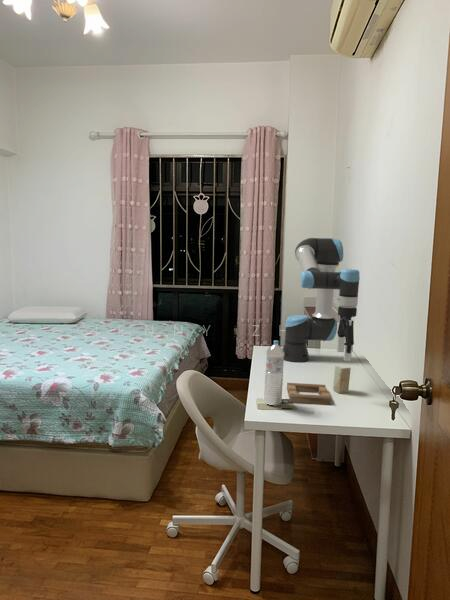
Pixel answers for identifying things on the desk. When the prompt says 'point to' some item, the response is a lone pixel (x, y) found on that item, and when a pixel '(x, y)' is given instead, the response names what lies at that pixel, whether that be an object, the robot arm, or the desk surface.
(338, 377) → the box
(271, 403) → the water bottle
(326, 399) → the socket
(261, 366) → the desk surface
